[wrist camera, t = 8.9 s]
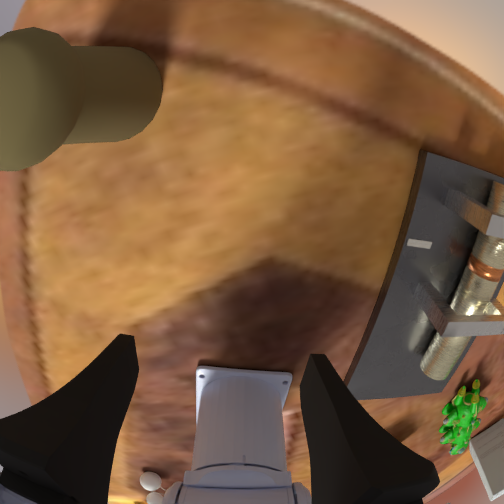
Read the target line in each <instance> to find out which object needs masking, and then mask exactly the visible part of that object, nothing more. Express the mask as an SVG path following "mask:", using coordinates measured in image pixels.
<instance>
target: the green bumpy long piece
mask: <svg viewBox="0 0 504 504" xmlns="http://www.w3.org/2000/svg"><path fill="white" fill-rule="evenodd" d="M472 387H473V388H472V390H471V392H466V387H465V386H462V387H461V388H460V389H459V390H458V394H457V395H456V396H455V398H454V399H453V400H452V404H451V403H448V404H447V405H446V406H445V407H444V409H443V410H442V414H444V415H447V414H449V415H448V416H447V417H446V418H445V419H444V421H443V426H442V427H441V428H440V429H439V432H440V433H444V432H446V431H447V432H446V433H445V434H444V435H443V437H441V439H440V443H441V444H447V443H450V442H451V443H450V444H451V447H450V448H451V450H450V451H449V453H450V454H451V455H455V454H461V453H463V452H464V451H465V449H466V448H467V446H468V444H469V440H468V439H471V437H470V434H471V432H473V431H474V430H475V429H476V428H477V427H478V426H479V425H480V422H481V419H480V418H476V417H477V414H478V413H479V412H480V411H481V410H482V409H484V408H485V406H486V404H487V402H488V398H487V397H485V398H484V397H481V396H479V392H480V388H479V387H480V382H479V380H478V379H476V380H475V381H474V382H473V384H472ZM453 402H454V403H453ZM449 429H450V430H449Z"/></svg>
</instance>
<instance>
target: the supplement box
mask: <svg viewBox="0 0 504 504" xmlns="http://www.w3.org/2000/svg"><path fill="white" fill-rule="evenodd" d="M470 453H471V456H472V458H473V460H474V462H475V465H476V467H477V469H478V472H479V474H480V477H481V479H482V481H483V484H484V486H485V489H486V491H487V494H488V496H489V499H490V501H493V500H494V499H496V498H497V497H499V496H500V495H502V494H504V418H502V419H501V420H500V421H498V422H497V423H495V424H494V425H492V426H491V427H489V428H488V429H486V430H485V431H483V432H482V433H480V434H479V435H477V436H475V437H474V438H472V439H470Z"/></svg>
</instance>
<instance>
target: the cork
mask: <svg viewBox="0 0 504 504" xmlns="http://www.w3.org/2000/svg"><path fill="white" fill-rule="evenodd" d="M162 91H163V89H162V81H161V74H160V72H159V70H158V68H157V66H156V64H155V62H154V61H153V60H152V59H151V58H150V57H149V56H147V55H146V54H145V53H144V52H142V51H139V50H137V49H134V48H132V47H115V46H71V45H70V44H69V43H68V42H67V41H65V40H64V39H63V38H62V37H61V36H60V35H59V34H57V33H54V32H51V31H47V30H43V29H40V28H36V27H31V28H25V29H20V30H15V31H10V32H7V33H5V34H4V35H2V36H1V37H0V171H19V170H22V169H25V168H27V167H30V166H33V165H35V164H38V163H40V162H42V161H43V160H45V159H46V158H47V157H48V156H49V155H51V154H52V153H53V152H54V151H56V150H57V149H58V148H59V147H60V146H61V145H62V144H77V143H98V142H117V141H122V140H126V139H130V138H131V137H133V136H135V135H136V134H138V133H140V132H141V131H143V130H144V128H145V127H146V126H147V125H148V124H149V123H150V122H151V121H152V120H153V118H154V116H155V114H156V112H157V110H158V108H159V106H160V102H161V96H162Z"/></svg>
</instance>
